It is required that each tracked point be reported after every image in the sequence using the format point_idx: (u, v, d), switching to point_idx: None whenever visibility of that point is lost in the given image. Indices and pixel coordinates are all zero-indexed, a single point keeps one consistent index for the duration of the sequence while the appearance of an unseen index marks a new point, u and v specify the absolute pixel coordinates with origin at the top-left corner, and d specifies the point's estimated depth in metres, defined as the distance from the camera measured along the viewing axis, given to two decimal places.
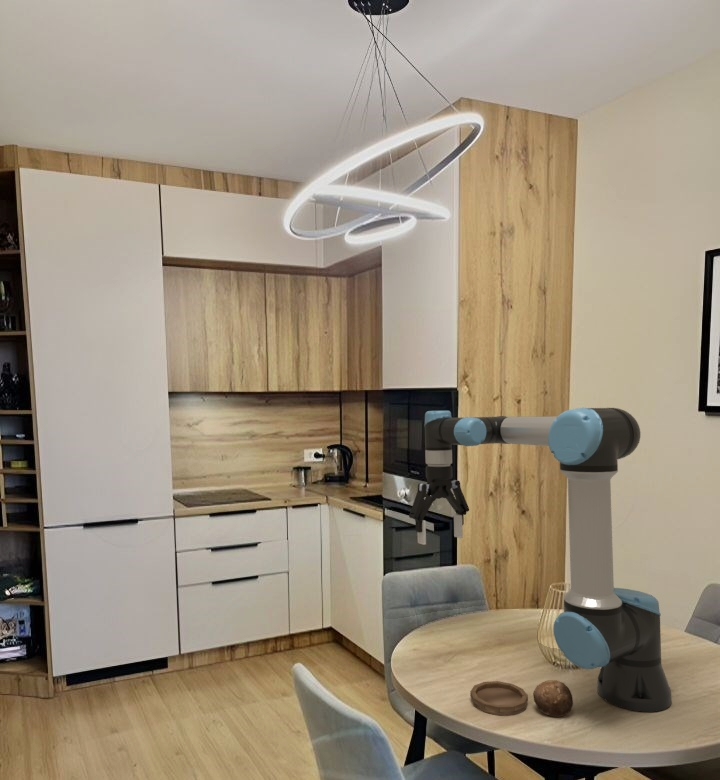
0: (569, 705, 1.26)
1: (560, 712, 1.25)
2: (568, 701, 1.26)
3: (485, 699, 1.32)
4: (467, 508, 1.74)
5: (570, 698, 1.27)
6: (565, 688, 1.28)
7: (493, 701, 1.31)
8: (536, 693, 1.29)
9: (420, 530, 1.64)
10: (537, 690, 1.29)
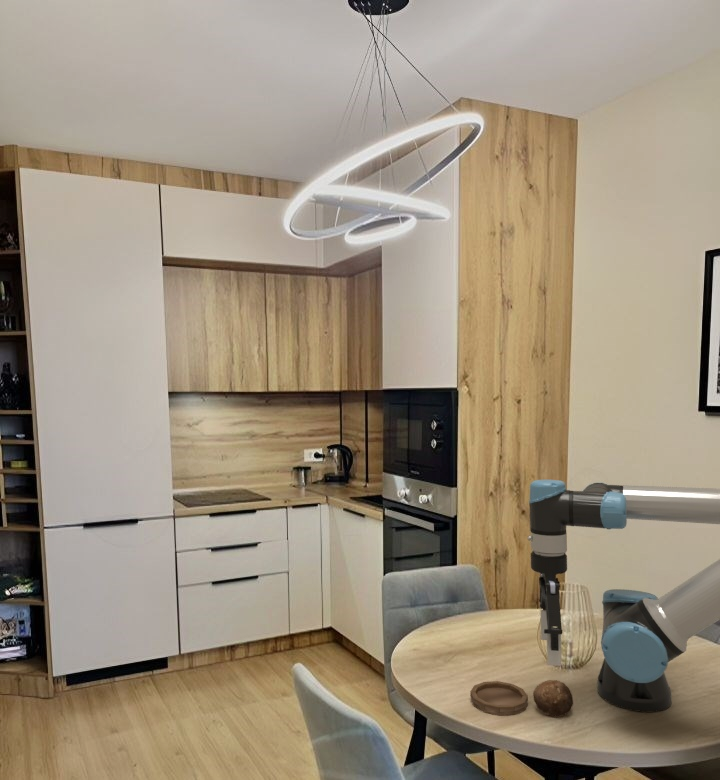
0: (569, 705, 1.26)
1: (560, 712, 1.25)
2: (568, 701, 1.26)
3: (485, 699, 1.32)
4: None
5: (570, 698, 1.27)
6: (565, 688, 1.28)
7: (493, 701, 1.31)
8: (536, 693, 1.29)
9: None
10: (537, 690, 1.29)
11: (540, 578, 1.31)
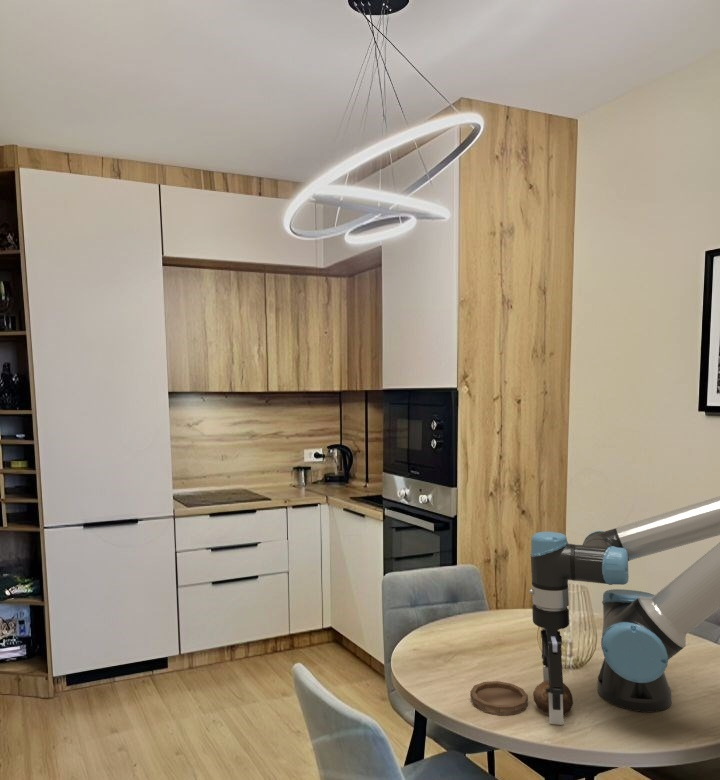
0: (569, 705, 1.26)
1: None
2: (568, 701, 1.26)
3: (485, 699, 1.32)
4: None
5: (570, 698, 1.27)
6: (565, 688, 1.28)
7: (493, 701, 1.31)
8: (536, 693, 1.29)
9: (560, 706, 1.22)
10: (536, 690, 1.29)
11: (542, 631, 1.30)
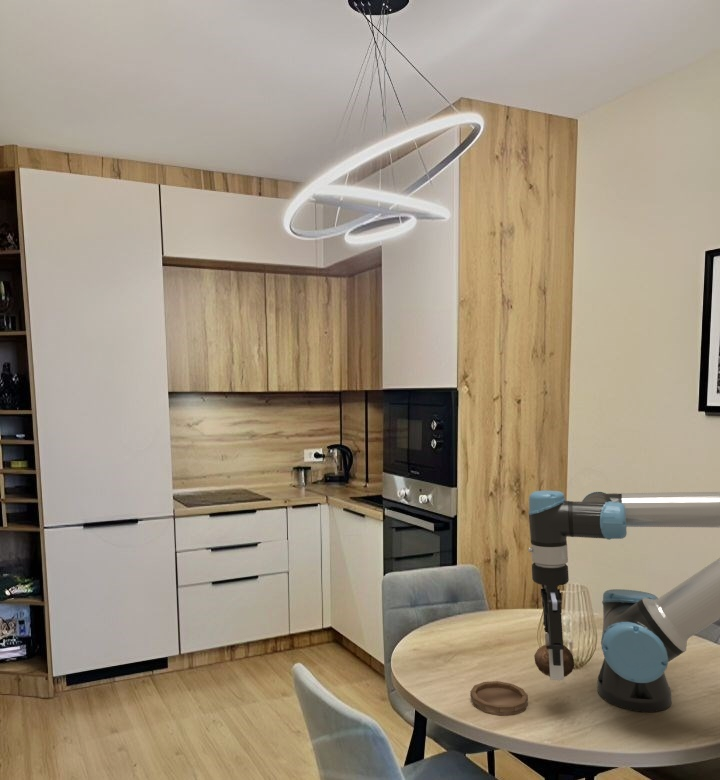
0: (570, 666, 1.26)
1: None
2: (569, 662, 1.26)
3: (485, 699, 1.32)
4: None
5: (571, 659, 1.27)
6: (566, 650, 1.28)
7: (493, 701, 1.31)
8: (537, 655, 1.29)
9: (560, 662, 1.24)
10: (538, 652, 1.29)
11: (542, 589, 1.31)
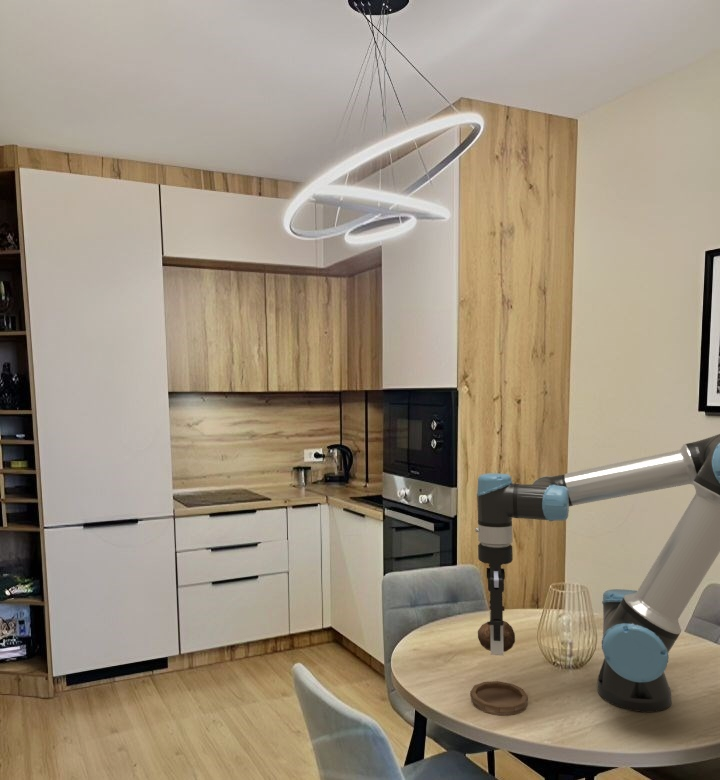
0: (510, 641, 1.30)
1: None
2: (509, 638, 1.31)
3: (485, 699, 1.32)
4: None
5: (512, 635, 1.31)
6: (508, 626, 1.33)
7: (493, 701, 1.31)
8: (480, 631, 1.33)
9: (500, 637, 1.28)
10: (481, 628, 1.34)
11: (487, 568, 1.35)
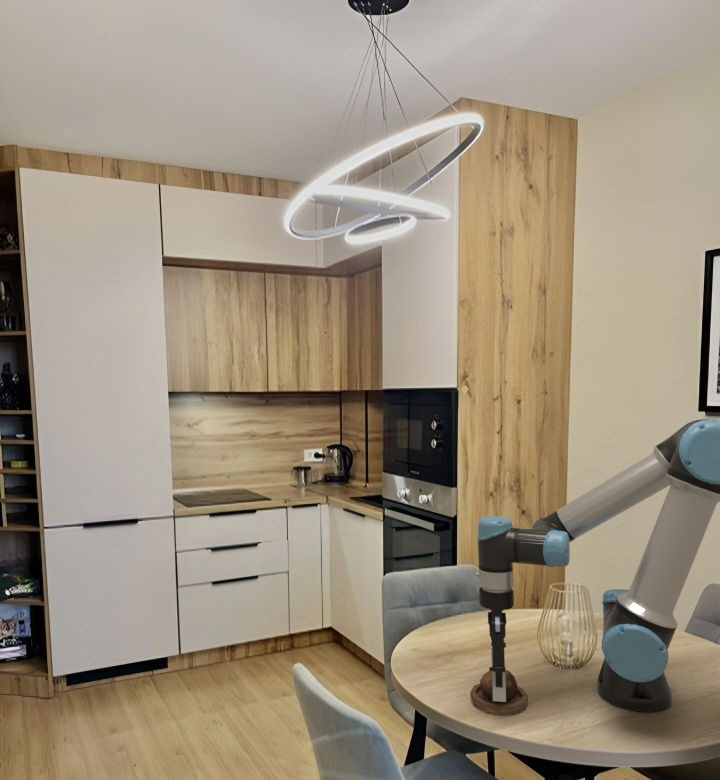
0: (513, 692, 1.30)
1: None
2: (512, 688, 1.30)
3: (485, 699, 1.32)
4: None
5: (514, 685, 1.31)
6: (510, 676, 1.32)
7: None
8: (482, 681, 1.33)
9: (502, 684, 1.26)
10: (483, 678, 1.33)
11: (488, 613, 1.35)
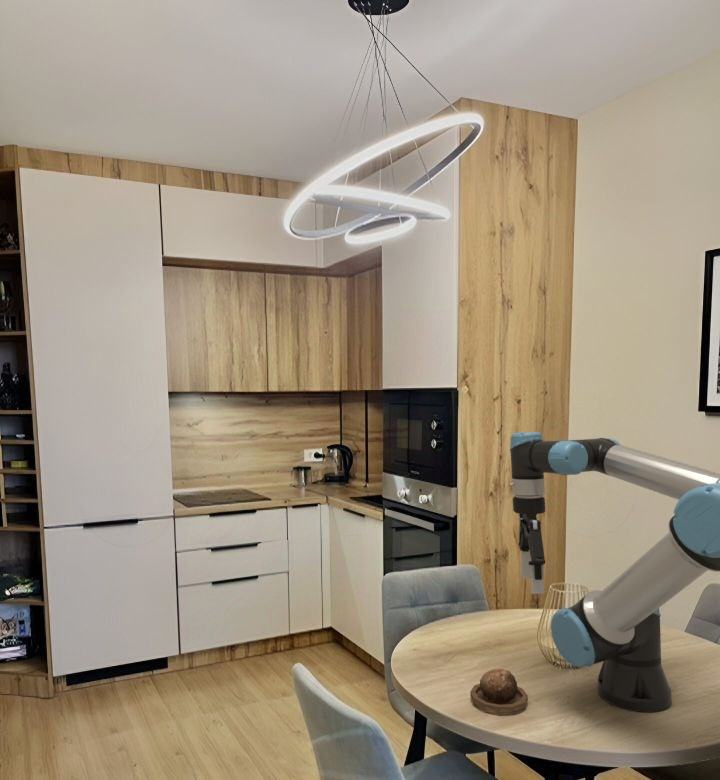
0: (513, 692, 1.30)
1: (504, 699, 1.30)
2: (512, 688, 1.30)
3: (485, 699, 1.32)
4: None
5: (514, 685, 1.31)
6: (510, 676, 1.32)
7: None
8: (482, 681, 1.33)
9: (541, 576, 1.36)
10: (483, 678, 1.33)
11: (521, 520, 1.46)
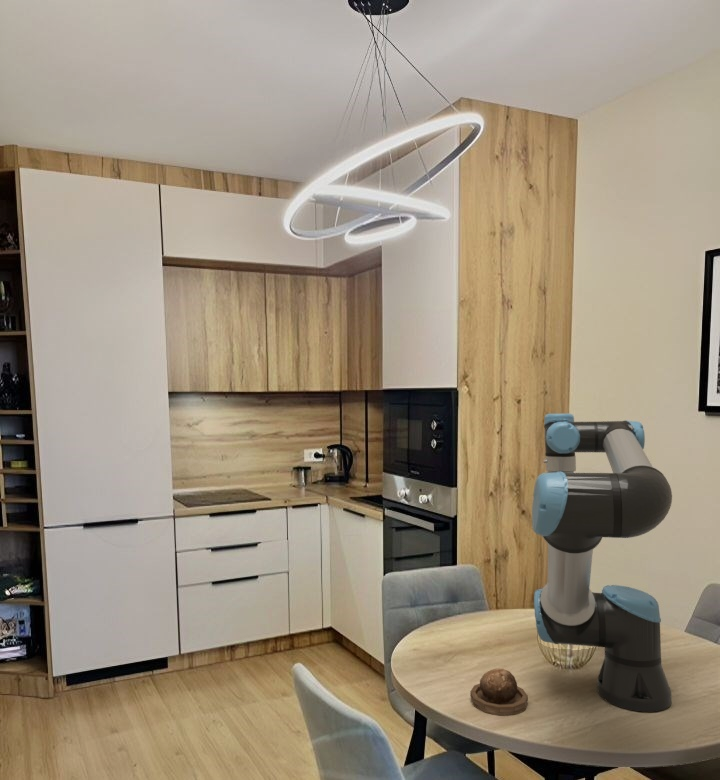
0: (513, 692, 1.30)
1: (504, 699, 1.30)
2: (512, 688, 1.30)
3: (485, 699, 1.32)
4: None
5: (514, 685, 1.31)
6: (510, 676, 1.32)
7: None
8: (482, 681, 1.33)
9: None
10: (483, 678, 1.33)
11: None
